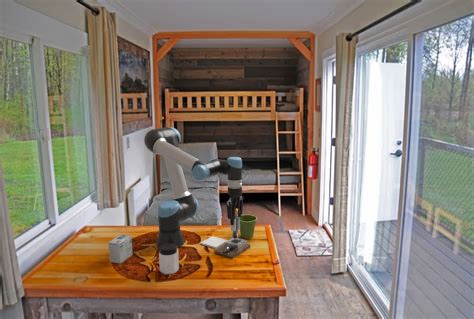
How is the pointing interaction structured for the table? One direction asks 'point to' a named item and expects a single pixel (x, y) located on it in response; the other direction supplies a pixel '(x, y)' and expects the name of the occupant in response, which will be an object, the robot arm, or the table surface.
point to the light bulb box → (120, 248)
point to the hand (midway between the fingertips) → (235, 229)
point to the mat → (213, 242)
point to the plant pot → (247, 225)
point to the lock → (233, 247)
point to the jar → (168, 258)
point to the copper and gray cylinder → (235, 233)
